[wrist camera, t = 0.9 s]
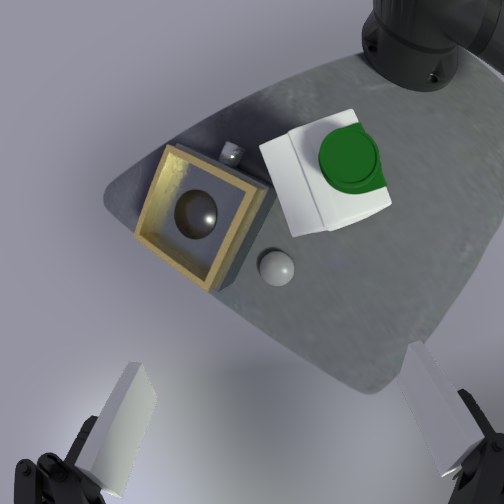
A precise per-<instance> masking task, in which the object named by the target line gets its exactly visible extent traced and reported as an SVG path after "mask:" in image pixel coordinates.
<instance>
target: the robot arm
mask: <svg viewBox="0 0 504 504" xmlns="http://www.w3.org/2000/svg"><path fill="white" fill-rule="evenodd" d="M457 44H458V45H460V46H461V47H463V48H465V49H466V50H468V51H470V52H471V53H473V54H474V55H475V56H477V57H478V58H480V59H481V60H483V61H485V62H486V63H487V64H489V65H490V66H492V67H493V68H494V69H496V70H497V71H498V72H500V73H501V74H502V75H504V0H373V11H372V12H371V14H370V15H369V17H368V19H367V20H366V22H365V23H364V26H363V29H362V47H363V50H364V53H365V55H366V57H367V59H368V61H369V62H370V64H371V65H372V66H373V67H374V68H375V69H376V70H377V71H378V72H379V73H380V74H381V75H382V76H384V77H385V78H386V79H388V80H389V81H391V82H393V83H395V84H397V85H399V86H401V87H403V88H406V89H409V90H413V91H420V92H431V91H436V90H439V89H441V88H443V87H445V86H446V85H447V84H448V83H449V82H450V81H451V79H452V78H453V76H454V75H455V73H456V70H457V65H458V56H457ZM397 383H398V385H399V387H400V389H401V391H402V393H403V395H404V396H405V399H406V401H407V403H408V405H409V407H410V409H411V411H412V413H413V415H414V417H415V419H416V421H417V423H418V426H419V428H420V430H421V432H422V434H423V437H424V439H425V441H426V443H427V446H428V448H429V450H430V453H431V455H432V457H433V460H434V462H435V464H436V467H437V469H438V472H439V474H440V476H441V477H442V476H444V475H446V474H448V473H450V472H452V471H454V470H455V469H456V468H457V467H458V466H459V465H460V464H461V466H462V469H461V470H460V471H459V472H458V473H457V474H456V475H455V476H454V477H453V480H455V479H456V478H457V477H458V479H457V482H456V485H455V487H454V490H453V493H452V495H451V498H450V500H449V503H448V504H504V434H502V433H496V432H495V431H494V430H493V428H492V426H491V425H490V423H489V421H488V420H487V418H486V417H485V415H484V413H483V412H482V410H480V407H479V406H478V404H476V401H475V400H474V398H473V397H472V395H471V394H470V393H468V392H467V391H466V390H464V389H461V390H459V391H456V389H455V388H454V387H453V385H452V383H451V382H450V381H449V379H448V378H447V376H446V375H445V373H444V372H443V370H442V369H441V368H440V366H439V365H438V363H437V362H436V360H435V359H434V358H433V356H432V355H431V354H430V352H429V351H428V349H427V348H426V347H425V345H424V344H423V343H422V341H417V342H413V343H409V344H408V348H407V351H406V355H405V358H404V362H403V365H402V368H401V371H400V374H399V378H398V381H397ZM157 399H158V398H157V396H156V394H155V392H154V390H153V388H152V385H151V383H150V381H149V378H148V376H147V374H146V371H145V369H144V367H143V364H142V363H138V362H129V363H128V364H127V366H126V368H125V370H124V372H123V373H122V375H121V377H120V378H119V380H118V382H117V384H116V386H115V387H114V389H113V391H112V393H111V395H110V397H109V398H108V400H107V402H106V404H105V406H104V408H103V409H102V411H101V413H100V415H99V417H97V416H91V417H90V418H88V419H87V420H86V421H85V422H84V424H83V426H82V428H81V430H80V432H79V433H78V435H77V438H76V439H75V441H74V442H73V444H72V446H71V448H70V450H69V452H68V454H67V456H66V458H65V460H64V461H62V460H61V459H60V458H59V457H58V456H57V455H56V454H53V453H45V454H43V455H41V457H40V458H39V459H38V461H37V465H35V464H34V463H33V462H32V461H31V460H29V459H22V460H20V461H19V462H18V463H17V465H16V469H15V483H14V504H106V503H105V501H104V499H103V497H102V495H101V494H100V491H101V489H103V490H104V491H105V492H106V493H108V494H110V495H113V496H117V497H120V498H123V495H124V492H125V489H126V486H127V483H128V480H129V477H130V474H131V471H132V468H133V465H134V462H135V460H136V457H137V454H138V451H139V448H140V445H141V443H142V440H143V437H144V434H145V431H146V429H147V426H148V423H149V420H150V418H151V415H152V413H153V410H154V407H155V405H156V402H157ZM42 496H43V499H42Z"/></svg>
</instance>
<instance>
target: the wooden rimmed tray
mask: <svg viewBox="0 0 504 504" xmlns="http://www.w3.org/2000/svg"><path fill="white" fill-rule="evenodd" d="M245 150H246V149H244V148H242V147H240V146H237V145H235V144H233V143H231V142H228V141H226V143H225V145H224V147H223V149H222V151H221V153H220V155H219V157H218V159H217V158H215V157H213V156H211V155H209V154H207V153H204V152H202V151H200V150H198V149H196V148H193V147H189V146H186V145H183V144H179V143H176V145H175V146H172V145H168V144H167V146H166V148H165V151H164V153H163V155H162V158H161V160H160V163H159V165H158V168H157V170H156V173H155V175H154V178H153V181H152V183H151V186H150V189H149V191H148V194H147V197H146V200H145V203H144V206H143V209H142V211H141V214H140V217H139V221H138V224H137V227H136V230H135V233H134V238H135V239H137V240H138V241H139V242H140V243H142V244H143V245H145V246H146V247H147V248H148V249H150V250H151V251H152V252H153V253H155V254H156V255H158V256H159V257H160V258H162V259H163V260H164V261H165V262H167V263H168V264H170V265H171V266H172V267H173V268H175V269H176V270H177V271H179V272H180V273H182V274H183V275H184V276H186V277H187V278H188V279H190V280H191V281H193V282H194V283H195V284H197V285H198V286H200V287H201V288H202V289H204V290H205V291H207V292H209V291H211V290H212V289H214V290H216V291H217V292H219V291H220V290H222V289H224V288H225V287H227V286H229V285H230V284H232V283H233V282H234V280H235V278H236V276H237V274H238V272H239V270H240V268H241V266H242V264H243V262H244V260H245V258H246V256H247V254H248V252H249V250H250V248H251V246H252V244H253V242H254V240H255V238H256V236H257V234H258V232H259V230H260V228H261V226H262V225H263V223H264V221H265V219H266V217H267V215H268V213H269V211H270V209H271V207H272V205H273V203H274V201H275V199H276V197H277V193H276V190H275V187H273V186H272V185H270V184H268V183H266V182H264V181H262V180H260V179H258V178H256V177H254V176H252V175H250V174H248V173H246V172H244V171H242V170H240V169H238V168H237V166H238V164H239V162H240V160H241V158H242V156H243V154H244V152H245Z"/></svg>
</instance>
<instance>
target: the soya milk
mask: <svg viewBox="0 0 504 504" xmlns="http://www.w3.org/2000/svg"><path fill="white" fill-rule="evenodd" d="M259 148H260V150H261V153H262V156H263V158H264V161H265V163H266V166H267V169H268V171H269V174H270V176H271V179H272V182H273V184H274V187H275V190H276V193H277V195H278V198H279V201H280V204H281V206H282V209H283V212H284V215H285V217H286V220H287V223H288V226H289V229H290V232H291V234H292V237H296V236H300V235H305V234H309V233H314V232H320V231H325V230H329V231H333V230H336V229H339V228H342V227H344V226H347V225H350V224H352V223H355V222H357V221H360V220H362V219H364V218H367V217H369V216H370V215H372V214H374V213H376V212H378V211H380V210H382V209H384V208H385V207H387V206H389V205H390V204H391V199H390V196H389V194H388V191H387V188H386V186H387V184H386V181H385V178H384V176H383V173H382V168H381V162H380V155H379V150H378V147H377V145H376V143H375V142H374V140H373V139H372V138H371V137H370V136H369V135H368V134H367V133H365V131H364V128H363V126H362V124H361V123H360V122H359V121H358V119H357V117H356V115H355V113H354V111H353V110H352V109H348V110H345V111H342V112H339V113H337V114H334V115H331V116H328V117H325V118H322V119H320V120H317V121H314V122H311V123H309V124H306V125H304V126H300V127H297V128H294V129H292V130H290V131H288V133H287V134H284V135H282V136H280V137H277V138H275V139H273V140H270V141H268V142H266V143H264V144H262V145H259Z"/></svg>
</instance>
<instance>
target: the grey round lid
mask: <svg viewBox="0 0 504 504" xmlns="http://www.w3.org/2000/svg"><path fill="white" fill-rule="evenodd" d="M294 272H295V266H294V262H293V260H292V258H291V257H290V256H289V255H288V254H286V253H285V252H282V251H273V252H270V253H268V254H267V255H265V256H264V257H263V259H262V260H261V263H260V273H261V276H262V277H263V279H264V280H265V281H266V282H267V283H269V284H270V285H273V286H282V285H285V284H286V283H288V282H289V281H290V280H291V278H292V277H293V275H294Z"/></svg>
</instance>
